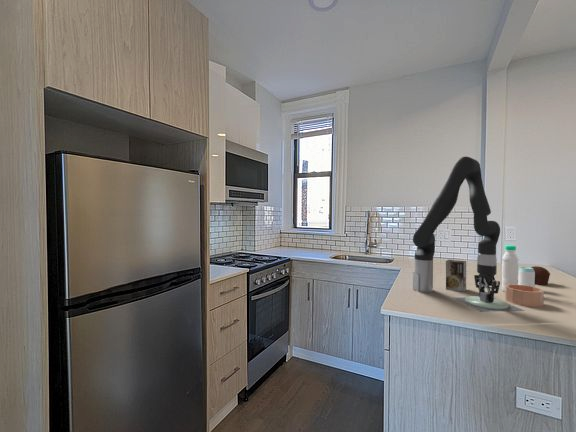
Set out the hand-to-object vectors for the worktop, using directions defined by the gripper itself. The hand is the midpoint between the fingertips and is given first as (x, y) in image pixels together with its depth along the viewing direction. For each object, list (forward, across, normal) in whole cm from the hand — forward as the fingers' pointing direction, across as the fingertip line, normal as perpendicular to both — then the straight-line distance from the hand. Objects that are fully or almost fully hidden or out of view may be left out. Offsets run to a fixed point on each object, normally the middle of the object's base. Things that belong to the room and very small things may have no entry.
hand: (486, 299), depth 138 cm
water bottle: (+3, -21, +29) cm, 36 cm away
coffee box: (+3, -26, +2) cm, 26 cm away
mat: (+2, 0, 0) cm, 2 cm away
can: (+3, -25, +42) cm, 49 cm away
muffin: (+3, -37, +60) cm, 71 cm away
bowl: (+2, -2, +20) cm, 20 cm away
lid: (+2, 0, 0) cm, 2 cm away
